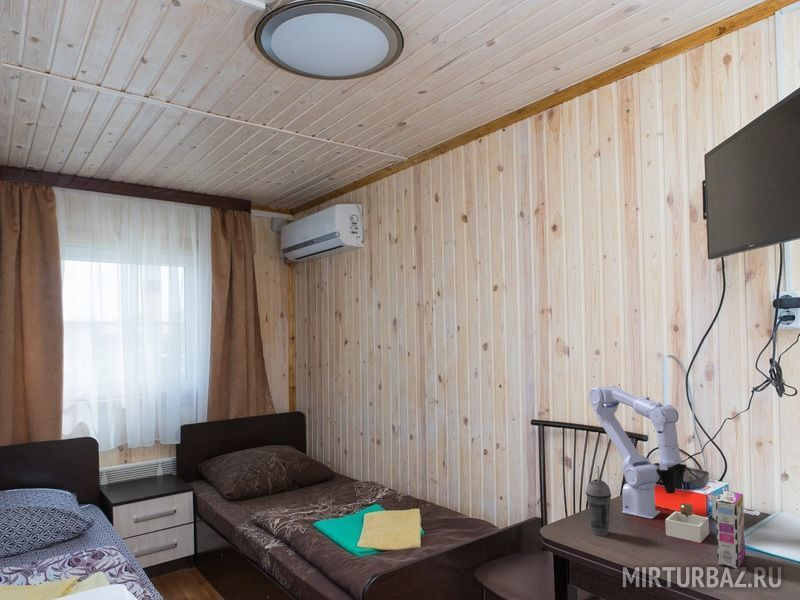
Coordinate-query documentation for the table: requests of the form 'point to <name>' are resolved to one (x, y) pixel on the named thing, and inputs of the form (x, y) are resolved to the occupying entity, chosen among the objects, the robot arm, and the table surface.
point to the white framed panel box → (687, 527)
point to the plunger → (686, 511)
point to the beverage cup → (598, 505)
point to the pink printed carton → (730, 529)
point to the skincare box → (714, 505)
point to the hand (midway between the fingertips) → (674, 490)
